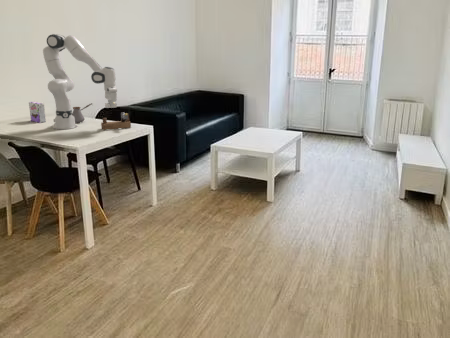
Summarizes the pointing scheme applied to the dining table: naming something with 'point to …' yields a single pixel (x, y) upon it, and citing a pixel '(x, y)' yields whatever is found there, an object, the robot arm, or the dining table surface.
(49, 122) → the dining table surface
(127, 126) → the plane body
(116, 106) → the cap
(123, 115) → the lever
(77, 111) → the coffee pot
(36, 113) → the candy box
